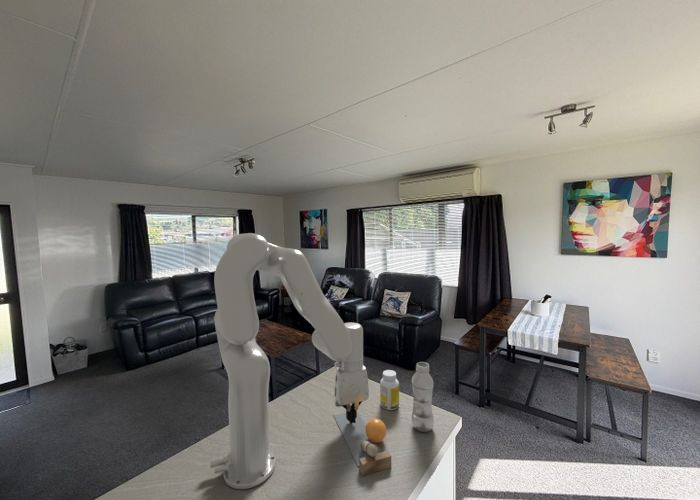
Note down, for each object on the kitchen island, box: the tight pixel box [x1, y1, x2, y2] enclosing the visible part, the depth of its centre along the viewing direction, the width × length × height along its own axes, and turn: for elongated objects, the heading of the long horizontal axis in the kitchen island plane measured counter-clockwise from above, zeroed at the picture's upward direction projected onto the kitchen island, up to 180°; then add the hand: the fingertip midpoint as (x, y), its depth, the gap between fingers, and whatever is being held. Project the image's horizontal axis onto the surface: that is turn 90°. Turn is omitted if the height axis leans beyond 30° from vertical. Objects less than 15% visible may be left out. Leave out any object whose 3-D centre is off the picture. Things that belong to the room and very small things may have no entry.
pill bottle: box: [379, 369, 400, 411], centre depth 99 cm, size 6×6×12 cm
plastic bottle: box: [411, 361, 435, 433], centre depth 87 cm, size 6×7×20 cm
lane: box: [333, 411, 383, 468], centre depth 85 cm, size 8×22×1 cm, turn 20°
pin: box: [360, 440, 378, 457], centre depth 76 cm, size 2×2×8 cm
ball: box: [365, 418, 387, 444], centre depth 82 cm, size 6×6×6 cm
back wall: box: [358, 450, 392, 477], centre depth 73 cm, size 8×2×3 cm, turn 110°
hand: (351, 420), depth 89 cm, fingers closed
